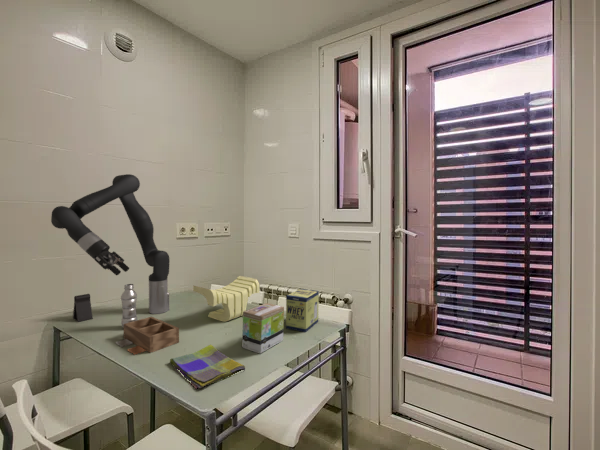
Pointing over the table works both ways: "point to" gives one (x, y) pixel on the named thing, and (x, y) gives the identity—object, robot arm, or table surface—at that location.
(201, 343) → the table surface
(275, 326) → the tea box
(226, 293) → the slatted curved stool
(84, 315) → the black coffee bag
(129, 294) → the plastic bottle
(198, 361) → the dish towel
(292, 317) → the protein box
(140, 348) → the box
